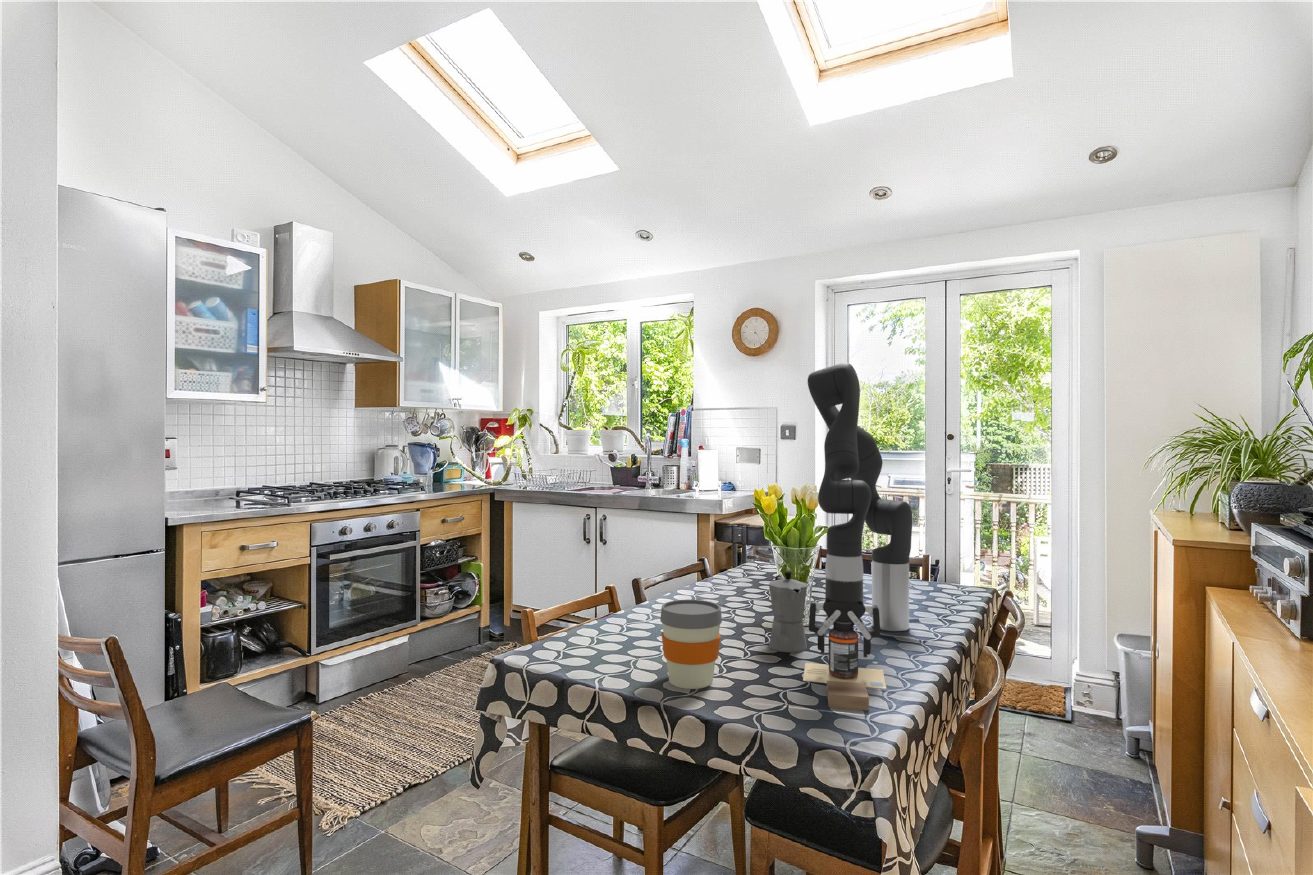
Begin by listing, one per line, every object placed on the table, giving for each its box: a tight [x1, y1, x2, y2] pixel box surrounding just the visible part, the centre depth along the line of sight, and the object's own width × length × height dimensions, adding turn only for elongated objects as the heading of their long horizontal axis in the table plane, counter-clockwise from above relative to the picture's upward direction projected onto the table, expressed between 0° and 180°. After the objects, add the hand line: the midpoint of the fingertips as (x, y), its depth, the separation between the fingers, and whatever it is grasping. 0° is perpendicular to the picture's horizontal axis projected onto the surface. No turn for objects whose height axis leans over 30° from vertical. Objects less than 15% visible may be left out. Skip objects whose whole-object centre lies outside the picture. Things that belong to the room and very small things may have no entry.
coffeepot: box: [768, 570, 808, 654], centre depth 156 cm, size 15×9×18 cm, turn 8°
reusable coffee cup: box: [660, 599, 723, 690], centre depth 134 cm, size 12×13×15 cm
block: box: [826, 681, 870, 711], centre depth 123 cm, size 7×7×3 cm
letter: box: [802, 662, 887, 690], centre depth 136 cm, size 11×16×1 cm
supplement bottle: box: [828, 622, 859, 679], centre depth 136 cm, size 6×6×11 cm
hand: (843, 654), depth 136 cm, fingers open, 8 cm apart
